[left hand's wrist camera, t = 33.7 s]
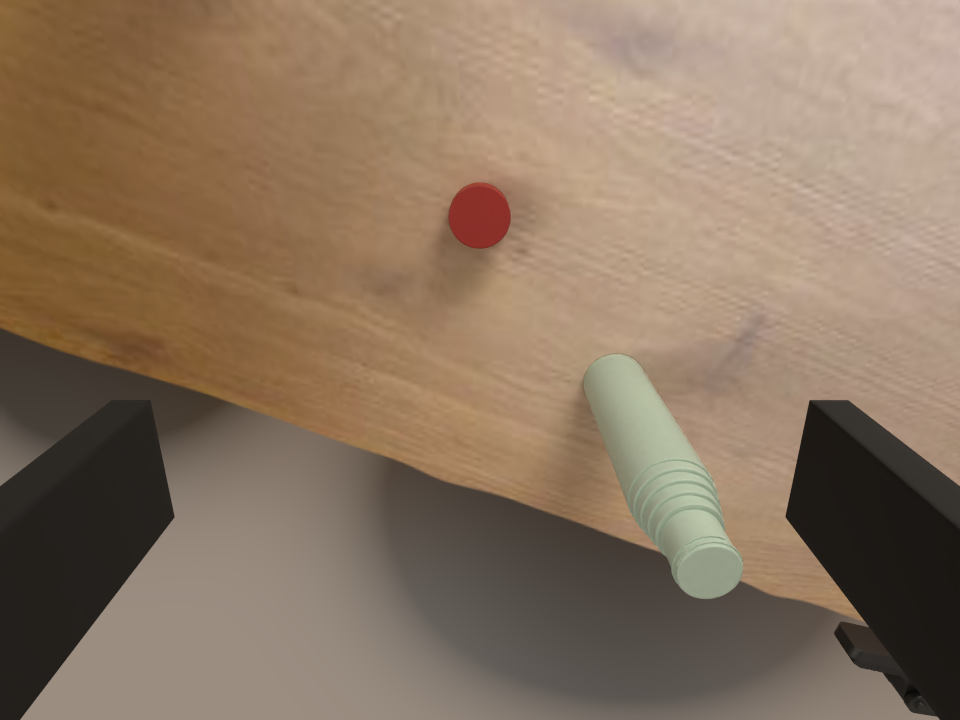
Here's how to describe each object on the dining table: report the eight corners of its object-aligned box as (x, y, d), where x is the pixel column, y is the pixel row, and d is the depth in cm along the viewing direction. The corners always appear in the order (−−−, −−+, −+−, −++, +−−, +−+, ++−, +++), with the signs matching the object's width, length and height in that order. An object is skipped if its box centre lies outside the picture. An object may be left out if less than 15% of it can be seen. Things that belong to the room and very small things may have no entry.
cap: (476, 169, 45) (475, 172, 43) (521, 209, 46) (523, 214, 44) (438, 216, 46) (436, 221, 44) (482, 254, 47) (483, 260, 45)
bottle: (654, 365, 50) (782, 547, 29) (628, 417, 52) (731, 625, 31) (598, 345, 50) (686, 516, 28) (574, 398, 51) (640, 598, 30)
